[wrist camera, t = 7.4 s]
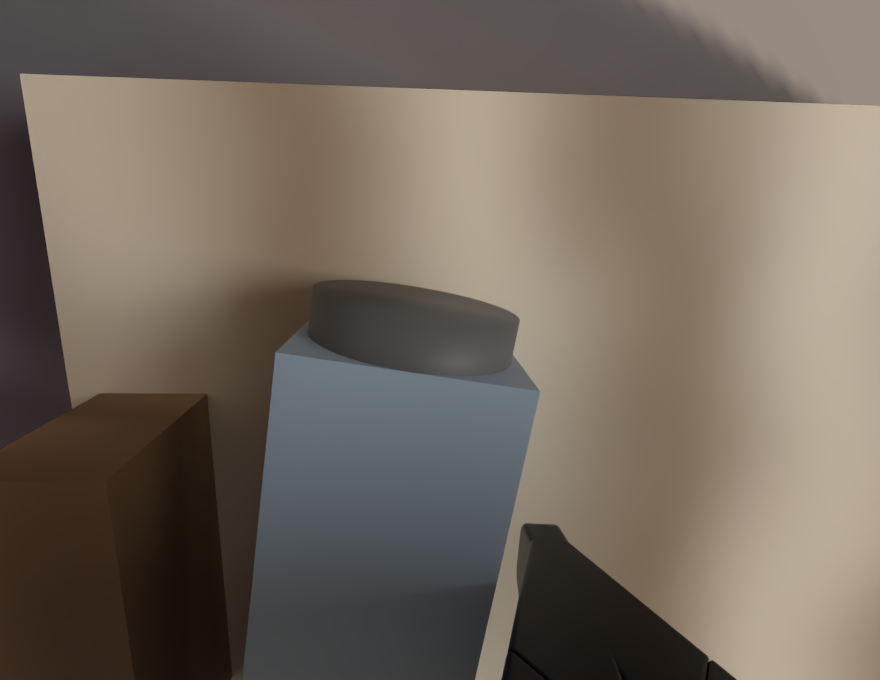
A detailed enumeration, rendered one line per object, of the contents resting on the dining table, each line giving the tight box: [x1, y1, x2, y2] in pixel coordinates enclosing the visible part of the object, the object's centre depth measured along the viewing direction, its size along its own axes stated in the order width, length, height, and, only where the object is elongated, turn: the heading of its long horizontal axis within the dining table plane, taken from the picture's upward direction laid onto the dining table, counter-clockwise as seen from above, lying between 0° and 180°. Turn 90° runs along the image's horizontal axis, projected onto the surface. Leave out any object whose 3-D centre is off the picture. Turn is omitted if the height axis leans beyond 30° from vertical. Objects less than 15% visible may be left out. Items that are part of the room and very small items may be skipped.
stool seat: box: [20, 74, 880, 680], centre depth 12 cm, size 20×20×2 cm
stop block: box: [0, 393, 232, 680], centre depth 8 cm, size 2×6×3 cm, turn 179°
